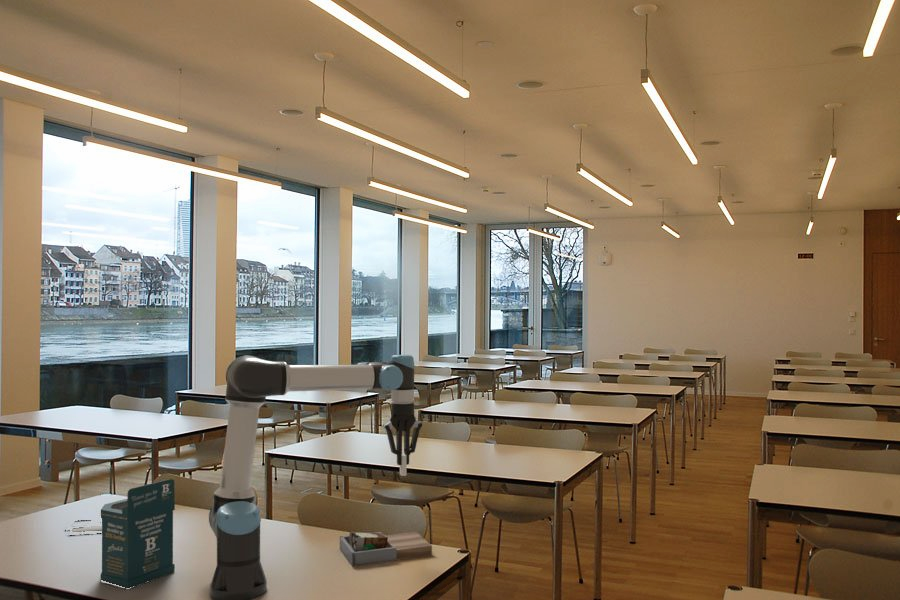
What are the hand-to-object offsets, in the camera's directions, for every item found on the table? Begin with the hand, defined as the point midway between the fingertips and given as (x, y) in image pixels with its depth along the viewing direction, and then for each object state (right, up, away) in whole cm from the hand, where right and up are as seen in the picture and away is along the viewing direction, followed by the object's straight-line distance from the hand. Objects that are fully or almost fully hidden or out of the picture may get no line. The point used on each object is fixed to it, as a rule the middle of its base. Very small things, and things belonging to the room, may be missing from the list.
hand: (403, 474), depth 238 cm
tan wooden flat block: (+1, -24, 0) cm, 24 cm away
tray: (-11, -24, -5) cm, 27 cm away
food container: (-6, -22, -3) cm, 23 cm away
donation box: (-78, -25, -23) cm, 85 cm away
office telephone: (-114, -26, +29) cm, 120 cm away
